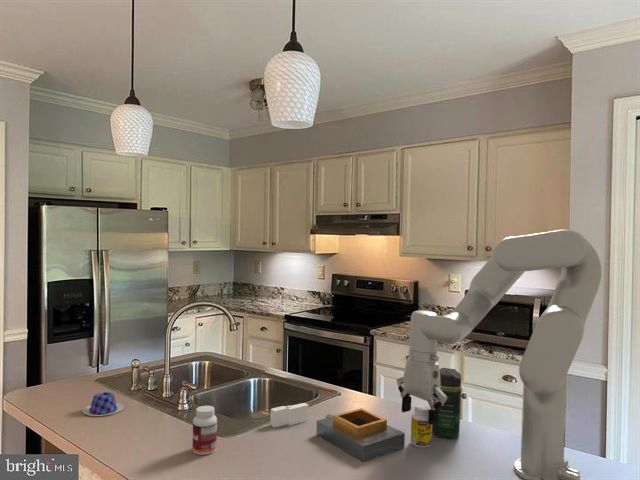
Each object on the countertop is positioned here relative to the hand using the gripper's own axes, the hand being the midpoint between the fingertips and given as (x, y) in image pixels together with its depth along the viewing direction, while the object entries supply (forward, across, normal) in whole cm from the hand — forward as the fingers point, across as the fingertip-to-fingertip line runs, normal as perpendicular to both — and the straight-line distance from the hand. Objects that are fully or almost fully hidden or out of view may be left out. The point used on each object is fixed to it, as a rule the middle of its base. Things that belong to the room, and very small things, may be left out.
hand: (419, 417), depth 133 cm
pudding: (+11, +72, +66) cm, 98 cm away
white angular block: (+9, +32, +22) cm, 40 cm away
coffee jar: (+7, 0, -12) cm, 14 cm away
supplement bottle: (+8, -1, 0) cm, 8 cm away
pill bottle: (+9, +28, +51) cm, 59 cm away
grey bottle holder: (+8, +12, +13) cm, 19 cm away
